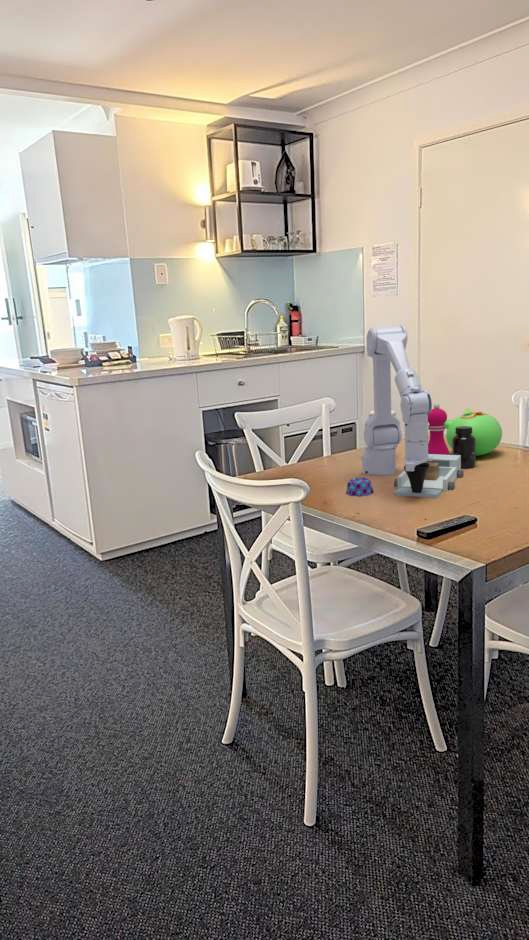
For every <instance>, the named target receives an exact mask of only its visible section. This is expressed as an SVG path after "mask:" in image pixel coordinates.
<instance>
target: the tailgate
mask: <svg viewBox="0 0 529 940" xmlns="http://www.w3.org/2000/svg"><path fill="white" fill-rule="evenodd" d="M443 492H444V491H443V490H438V489H422V491H421V493H415V492H412V489H411V488H405V487H399V488H397V489H396V490H395V491H394V495H393V496H404V497H415V498H416V497H418V498H419V497H420V498H434V499H437V498H438V497H439V496H440V495H441V494H442V493H443Z"/></svg>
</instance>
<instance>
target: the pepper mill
mask: <svg viewBox="0 0 529 940" xmlns="http://www.w3.org/2000/svg"><path fill="white" fill-rule="evenodd" d="M440 407H441V405H440V403H437V402H436V403H434V404H433V408H432V409H431V412H430V414H427V415H428V431H429V439H428V454H440V455H450V451H449V448H448V446H447V444H446V442H445V441H446V440H445V438H444V434H445V433H444V432H445V431H446V428H445V424H444V423H445V422H446V420H448V413H447V412H446V410H444V409H442V408H440Z"/></svg>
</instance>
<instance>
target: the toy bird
mask: <svg viewBox="0 0 529 940" xmlns="http://www.w3.org/2000/svg"><path fill="white" fill-rule="evenodd" d="M444 424H445V430H446V434H445V435H446V441H447V444H448V445H449V447H450V448H451V449H452V439H453V437H454V436H456V434H455V432H456V427H459V426H470V427H472V436H474V437H475V439H476V457H479V456H483V455H484V456H485V455H486V454H489V453H491V452H492V451H494V450H495V449H496V448H497V447H498V446H499V445H500V443H501V441H502V437H503V431H502V430H503V429H502V426H501V424H500V422H499V421H498V420H497V418H496V417H493V416H492V415H490V414H488V413H484V412H482V410H481V411H479V410H477V411H471V409H470V408H469V407H468V408H465V409H464V411H463V413H462V414H461V415H459V416H457V417H456V418H454V419H447V420H446V422H445V423H444Z"/></svg>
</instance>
